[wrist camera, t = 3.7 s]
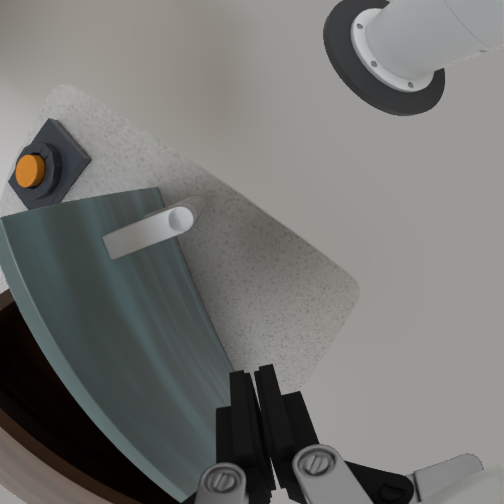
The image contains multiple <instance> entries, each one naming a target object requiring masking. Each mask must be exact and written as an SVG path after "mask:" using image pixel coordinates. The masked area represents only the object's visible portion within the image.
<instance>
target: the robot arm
mask: <svg viewBox="0 0 504 504" xmlns="http://www.w3.org/2000/svg"><path fill="white" fill-rule="evenodd" d="M350 32H351V41H352V44H353V47H354V50H355V52H356V54H357V56H358V57H359V59H360V61H361V62H362V64H363V65H364V66H365V67H366V68H367V70H368V71H369V72H370V73H371V74H372V75H373V76H374V77H375V78H377V79H378V80H379V81H381V82H382V83H383V84H385V85H387V86H389V87H391V88H393V89H395V90H398V91H402V92H416V91H419V90H421V89H424V88H426V87H427V86H428V85H429V84H430V82H431V80H432V79H433V75H434V71H436V70H439V69H442V68H444V67H447V66H449V65H452V64H455V63H458V62H460V61H463V60H466V59H469V58H472V57H475V56H477V55H481V54H484V53H486V52H490V51H493V50H496V49H499V48H502V47H504V0H393V1H391V2H390V3H389V4H388V5H387V6H386V7H385V8H384V9H377V8H374V9H368V10H365V11H363V12H361V13H360V14H359V15H358V16H357V17H356V18H355V19H354V21H353V23H352V25H351V31H350ZM254 375H255V381H256V386H257V392H258V398H259V404H260V407H259V404H258V400H257V397H256V393H255V389H254V386H253V382H252V379H251V375H250V373H244V370H241V371H236V372H231V373H229V380H230V400H231V406H226V407H219V408H216V464H214V465H211V466H210V467H208V468H207V469H205V470H204V472H203V473H202V474H201V476H200V479H199V483H198V488H197V491H196V492H194V493H193V494H192V495H191V496H189V497H188V498H187V499H186V500H184V501H183V502H182V503H180V504H269V503H270V502H271V501H270V498H271V497H272V494H271V491H272V490H276V485H275V480H274V475H273V470H272V464H273V467H274V470H275V473H276V476H277V479H278V481H279V485H280V487H281V489H282V488H286V490H287V493H288V496H289V499H291V500H294V501H296V502H298V503H301V504H504V464H502V465H497V466H494V467H491V468H487V469H483V466H482V463H481V461H480V459H479V458H478V457H477V456H475V455H473V454H463V455H460V456H457V457H455V458H452V459H449V460H447V461H444V462H441V463H438V464H436V465H432V466H429V467H426V468H423V469H420V470H416V471H414V473H413V474H410V475H405V476H403V475H400V474H395V473H390V472H386V471H382V470H377V469H373V468H369V467H366V466H362V465H358V464H355V463H351V462H347V461H344V460H343V459H342V457H341V456H340V454H339V453H338V452H337V451H336V450H335V449H334V448H333V447H331V446H328V445H323V444H319V441H318V438H317V436H316V433H315V430H314V427H313V425H312V422H311V419H310V417H309V414H308V411H307V408H306V405H305V402H304V400H303V397H302V394H301V392H300V391H297V392H294V393H290V394H285V395H281V392H280V389H279V385H278V382H277V378H276V374H275V371H274V367H273V364H269V365H265V366H260V367H259V371H254ZM260 409H261V411H260ZM270 458H271V459H270ZM271 461H272V464H271Z"/></svg>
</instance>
